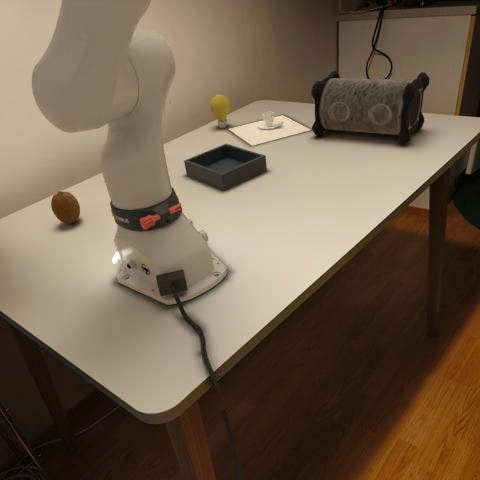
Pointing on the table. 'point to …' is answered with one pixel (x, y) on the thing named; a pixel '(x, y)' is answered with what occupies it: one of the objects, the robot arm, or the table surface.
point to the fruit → (65, 207)
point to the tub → (225, 166)
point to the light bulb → (220, 109)
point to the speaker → (369, 105)
